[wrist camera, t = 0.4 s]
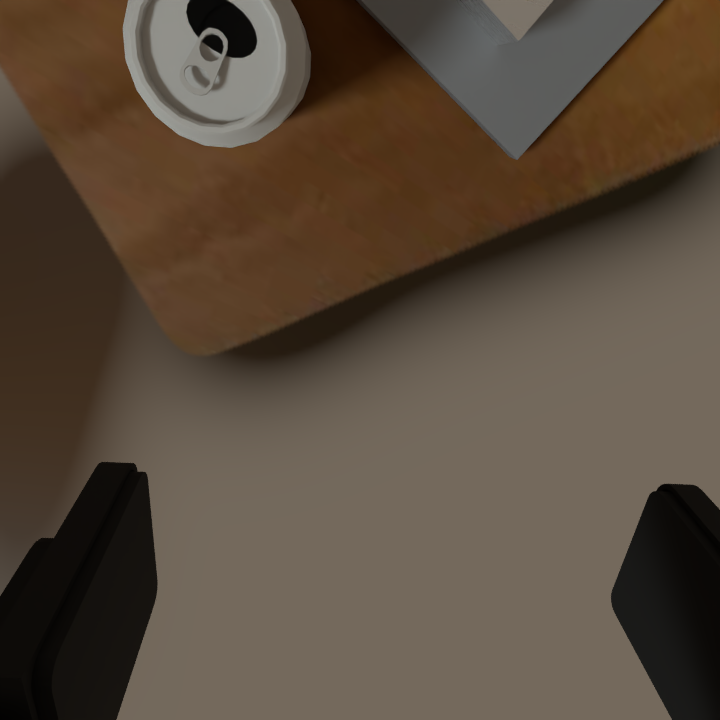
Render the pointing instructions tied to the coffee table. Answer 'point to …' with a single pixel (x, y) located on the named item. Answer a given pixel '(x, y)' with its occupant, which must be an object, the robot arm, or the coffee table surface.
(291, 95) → the can
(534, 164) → the coffee table surface
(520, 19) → the small white block
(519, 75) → the board
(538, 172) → the coffee table surface
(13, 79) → the coffee table surface
